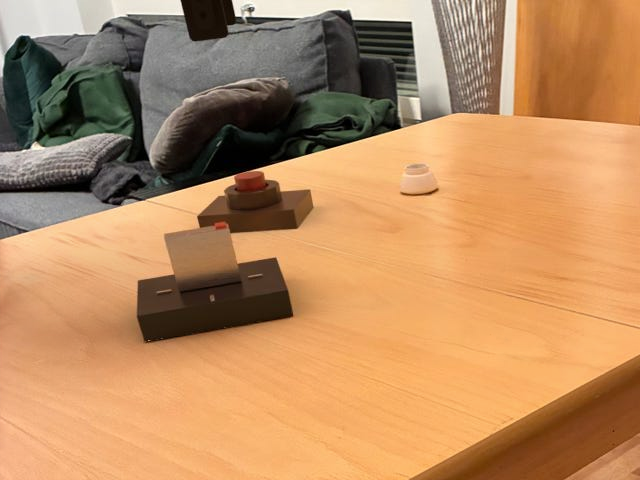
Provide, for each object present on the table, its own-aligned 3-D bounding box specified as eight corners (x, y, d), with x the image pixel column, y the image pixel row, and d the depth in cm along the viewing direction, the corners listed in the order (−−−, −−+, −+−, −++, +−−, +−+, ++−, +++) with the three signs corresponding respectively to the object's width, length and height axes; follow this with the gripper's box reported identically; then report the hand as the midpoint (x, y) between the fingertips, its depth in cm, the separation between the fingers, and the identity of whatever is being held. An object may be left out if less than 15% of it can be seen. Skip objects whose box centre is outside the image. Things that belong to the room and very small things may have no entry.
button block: (201, 235, 117) (192, 200, 114) (222, 214, 124) (214, 180, 121) (297, 228, 116) (290, 193, 113) (313, 207, 123) (307, 173, 120)
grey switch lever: (179, 292, 93) (163, 235, 89) (178, 287, 94) (163, 230, 91) (241, 281, 94) (228, 225, 90) (240, 276, 95) (227, 220, 91)
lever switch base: (144, 342, 90) (135, 314, 88) (145, 305, 98) (137, 278, 97) (293, 316, 92) (287, 288, 90) (281, 281, 101) (275, 255, 99)
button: (233, 195, 116) (230, 179, 115) (242, 187, 119) (238, 172, 118) (262, 193, 116) (259, 177, 115) (270, 185, 119) (267, 169, 118)
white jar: (445, 186, 125) (413, 185, 127) (443, 162, 123) (410, 160, 125) (425, 197, 122) (392, 195, 124) (422, 172, 120) (389, 170, 122)
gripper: (123, -215, 80) (182, 27, 91) (84, -237, 67) (159, 51, 77) (213, -226, 80) (262, 16, 91) (192, -249, 67) (252, 39, 77)
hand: (214, 32), depth 84 cm, fingers open, 9 cm apart
